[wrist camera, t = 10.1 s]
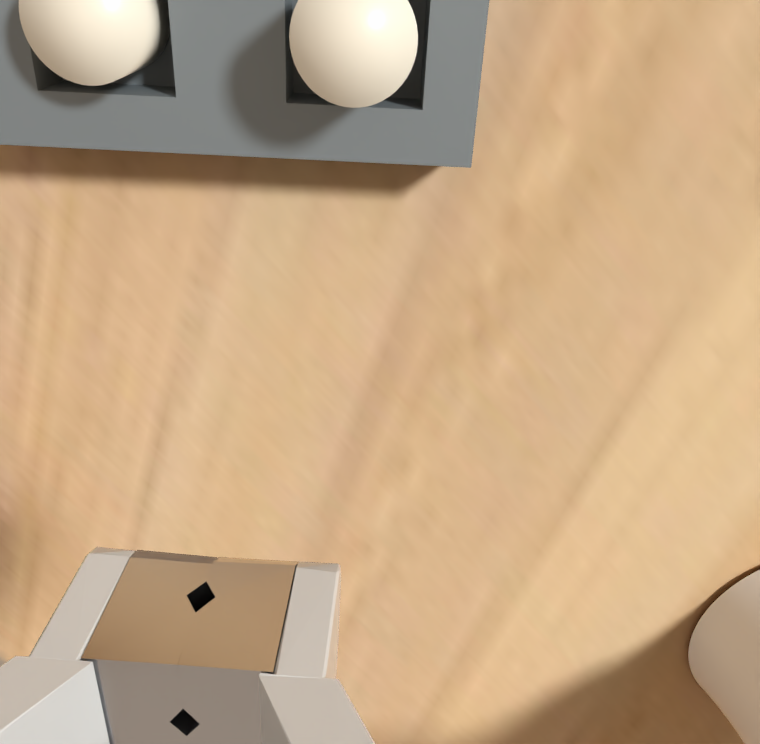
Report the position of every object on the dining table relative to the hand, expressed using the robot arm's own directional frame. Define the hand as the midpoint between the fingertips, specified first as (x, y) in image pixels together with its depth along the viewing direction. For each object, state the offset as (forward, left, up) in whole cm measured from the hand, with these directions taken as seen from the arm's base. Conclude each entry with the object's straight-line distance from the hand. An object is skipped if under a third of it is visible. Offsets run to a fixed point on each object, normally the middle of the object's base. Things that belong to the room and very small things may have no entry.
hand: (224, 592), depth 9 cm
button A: (+8, -5, -24) cm, 25 cm away
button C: (-1, -5, -22) cm, 22 cm away
